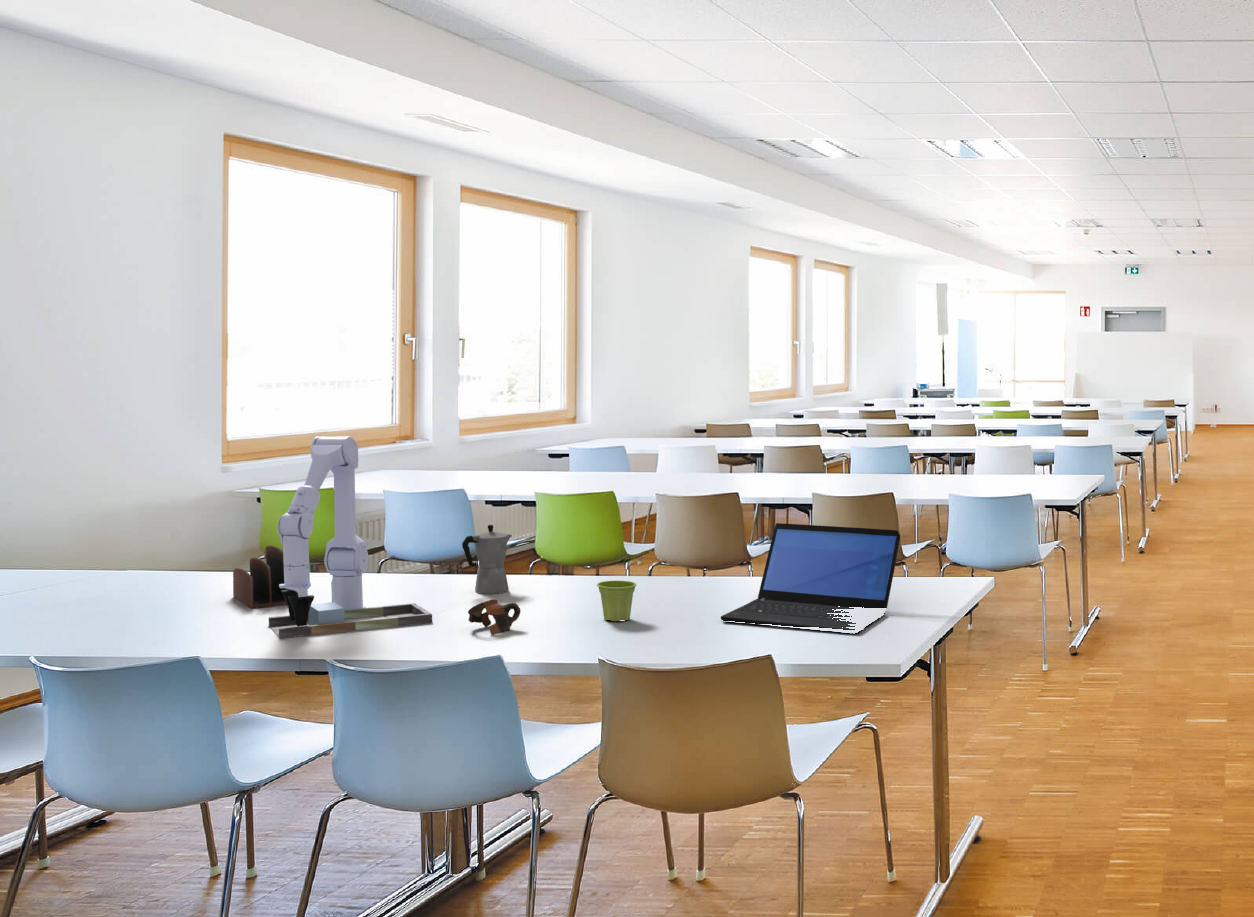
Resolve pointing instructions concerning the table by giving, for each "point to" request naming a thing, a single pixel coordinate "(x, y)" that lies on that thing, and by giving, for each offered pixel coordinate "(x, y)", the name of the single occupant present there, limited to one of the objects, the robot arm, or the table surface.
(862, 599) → the laptop
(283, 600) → the letter holder
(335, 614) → the blue block
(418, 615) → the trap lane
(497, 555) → the coffeepot
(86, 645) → the table surface
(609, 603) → the plant pot
